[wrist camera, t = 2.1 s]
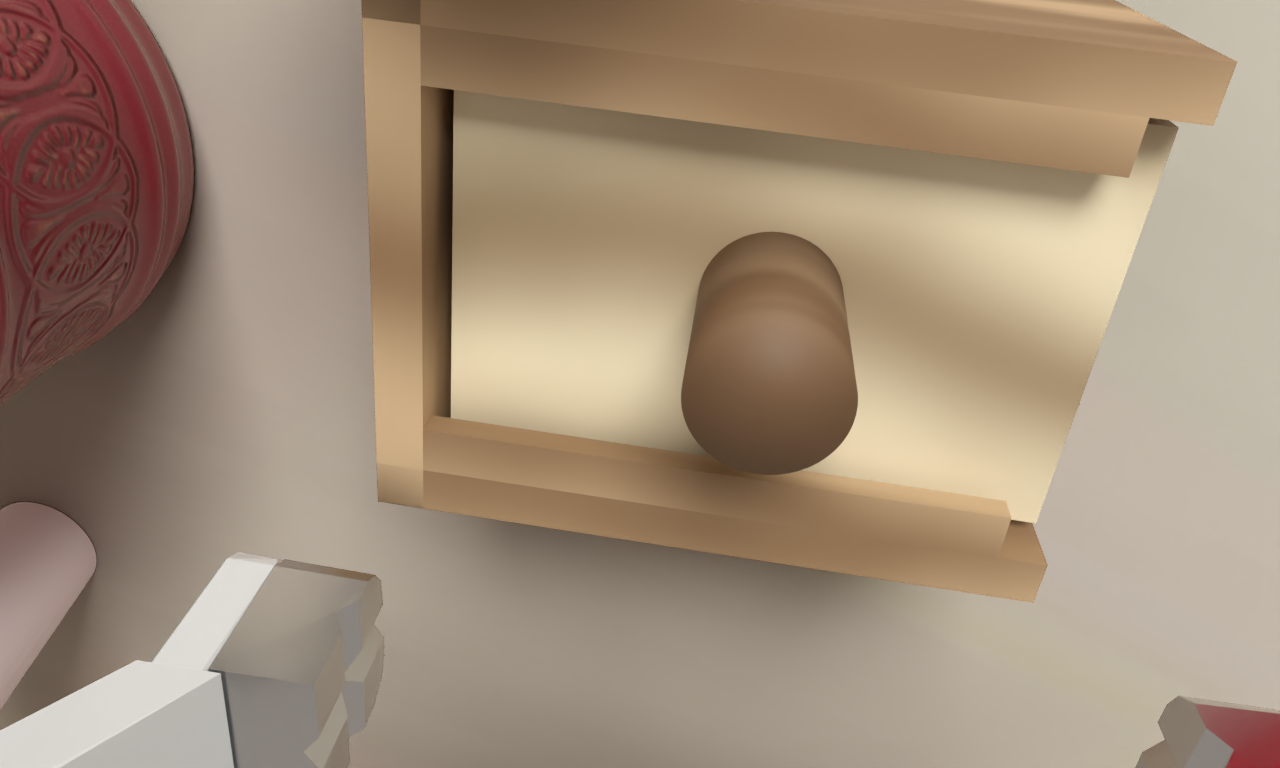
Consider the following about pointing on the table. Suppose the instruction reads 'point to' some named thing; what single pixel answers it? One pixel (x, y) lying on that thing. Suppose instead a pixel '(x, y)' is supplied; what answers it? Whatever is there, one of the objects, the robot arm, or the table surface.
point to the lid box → (757, 99)
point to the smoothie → (36, 582)
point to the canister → (83, 176)
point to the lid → (782, 294)
